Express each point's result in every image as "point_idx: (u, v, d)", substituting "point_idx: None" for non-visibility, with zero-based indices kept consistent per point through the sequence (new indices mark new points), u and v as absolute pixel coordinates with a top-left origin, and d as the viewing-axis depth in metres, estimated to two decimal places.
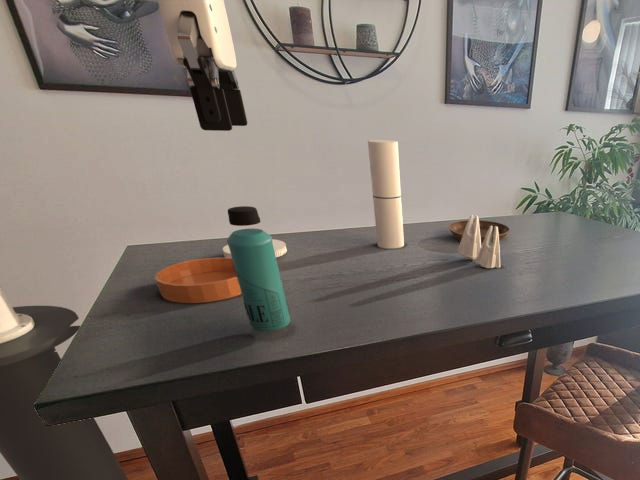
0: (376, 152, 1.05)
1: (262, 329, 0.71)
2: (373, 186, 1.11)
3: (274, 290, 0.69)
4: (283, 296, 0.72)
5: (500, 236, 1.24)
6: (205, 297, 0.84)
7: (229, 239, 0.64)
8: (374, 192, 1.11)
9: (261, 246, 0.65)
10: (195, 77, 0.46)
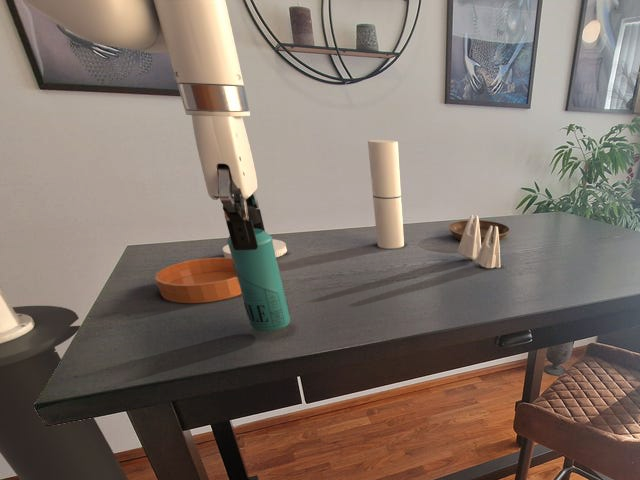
0: (376, 152, 1.05)
1: (262, 329, 0.71)
2: (373, 186, 1.11)
3: (274, 290, 0.69)
4: (283, 296, 0.72)
5: (500, 236, 1.24)
6: (205, 297, 0.84)
7: (229, 239, 0.65)
8: (374, 192, 1.11)
9: (261, 246, 0.65)
10: (231, 216, 0.59)
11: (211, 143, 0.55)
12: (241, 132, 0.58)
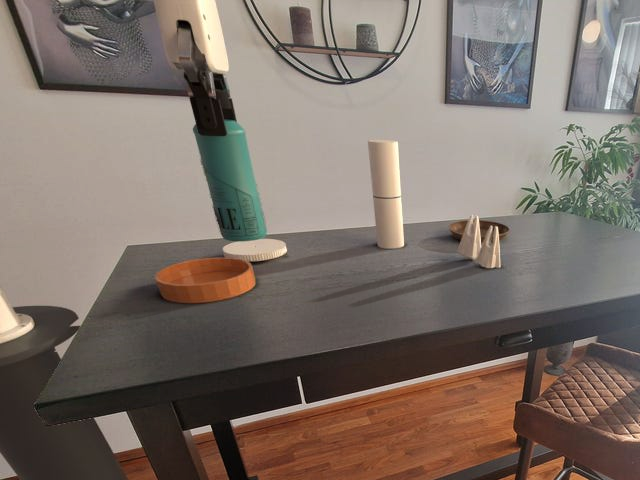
0: (376, 152, 1.05)
1: (234, 239, 0.64)
2: (373, 186, 1.11)
3: (247, 191, 0.61)
4: (258, 203, 0.64)
5: (500, 236, 1.24)
6: (205, 297, 0.84)
7: (195, 125, 0.57)
8: (374, 192, 1.11)
9: (232, 135, 0.57)
10: (194, 89, 0.52)
11: None
12: None
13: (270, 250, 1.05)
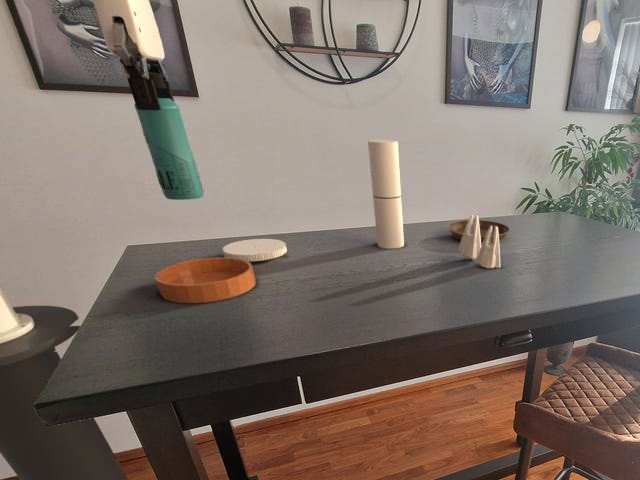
0: (376, 152, 1.05)
1: (173, 197, 0.77)
2: (373, 186, 1.11)
3: (182, 157, 0.75)
4: (193, 167, 0.77)
5: (500, 236, 1.24)
6: (205, 297, 0.84)
7: None
8: (374, 192, 1.11)
9: (166, 109, 0.71)
10: (129, 71, 0.65)
11: None
12: None
13: (270, 250, 1.05)
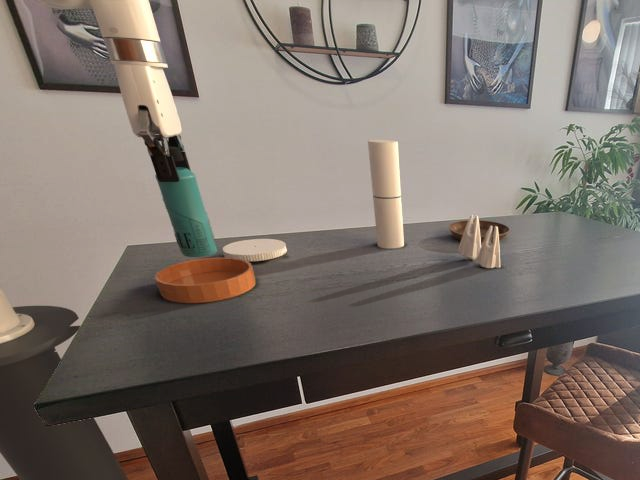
0: (376, 152, 1.05)
1: (190, 255, 0.84)
2: (373, 186, 1.11)
3: (198, 220, 0.82)
4: (208, 227, 0.85)
5: (500, 236, 1.24)
6: (205, 297, 0.84)
7: None
8: (374, 192, 1.11)
9: (184, 180, 0.78)
10: (152, 151, 0.72)
11: (131, 87, 0.68)
12: (159, 81, 0.71)
13: (270, 250, 1.05)
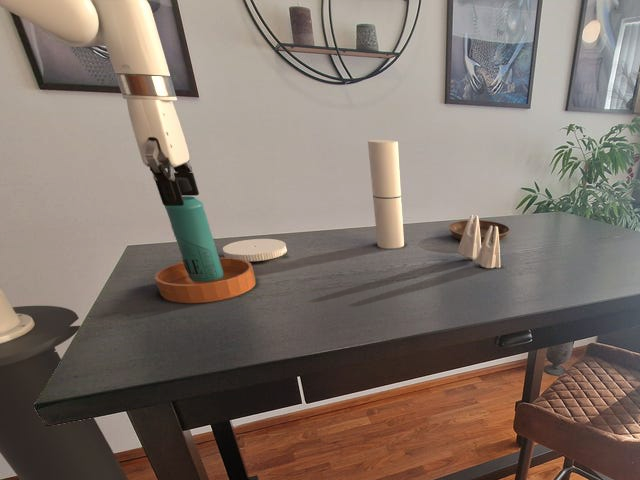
0: (376, 152, 1.05)
1: (198, 280, 0.87)
2: (373, 186, 1.11)
3: (206, 247, 0.85)
4: (215, 253, 0.87)
5: (500, 236, 1.24)
6: (205, 297, 0.84)
7: None
8: (374, 192, 1.11)
9: (192, 209, 0.81)
10: (158, 176, 0.73)
11: (142, 121, 0.71)
12: (169, 113, 0.74)
13: (270, 250, 1.05)
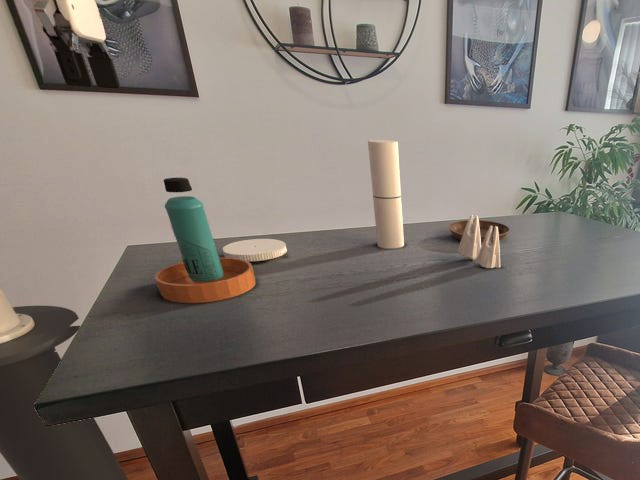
0: (376, 152, 1.05)
1: (198, 280, 0.87)
2: (373, 186, 1.11)
3: (206, 247, 0.85)
4: (215, 253, 0.87)
5: (500, 236, 1.24)
6: (205, 297, 0.84)
7: (166, 204, 0.80)
8: (374, 192, 1.11)
9: (192, 209, 0.81)
10: (55, 42, 0.60)
11: None
12: None
13: (270, 250, 1.05)
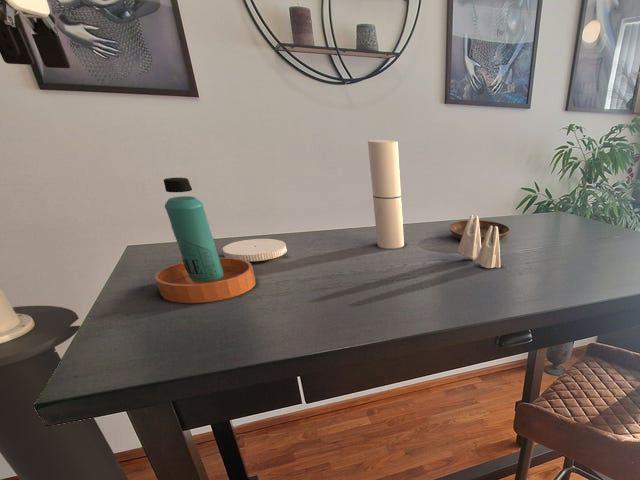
0: (376, 152, 1.05)
1: (198, 280, 0.87)
2: (373, 186, 1.11)
3: (206, 247, 0.85)
4: (215, 253, 0.87)
5: (500, 236, 1.24)
6: (205, 297, 0.84)
7: (166, 204, 0.80)
8: (374, 192, 1.11)
9: (192, 209, 0.81)
10: None
11: None
12: None
13: (270, 250, 1.05)
